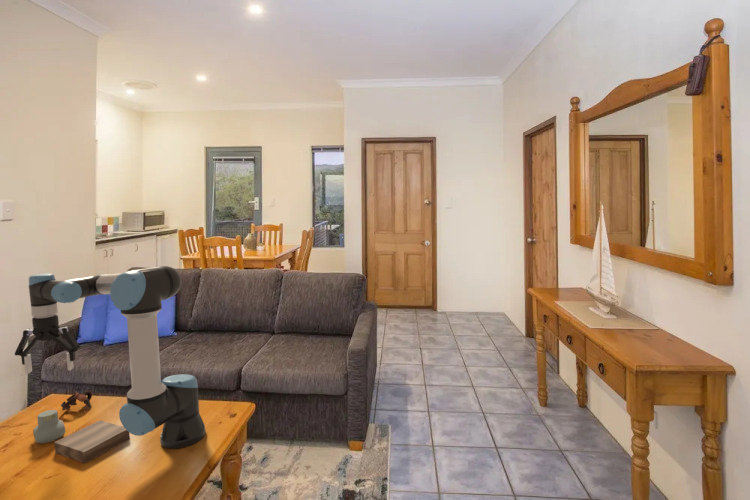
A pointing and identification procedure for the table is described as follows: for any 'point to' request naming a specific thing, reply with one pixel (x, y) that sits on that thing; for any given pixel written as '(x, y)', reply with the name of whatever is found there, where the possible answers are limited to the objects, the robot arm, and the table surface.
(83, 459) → the walnut stand
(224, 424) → the table surface
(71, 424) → the table surface
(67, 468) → the table surface
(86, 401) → the brown curved piece
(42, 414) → the air freshener
